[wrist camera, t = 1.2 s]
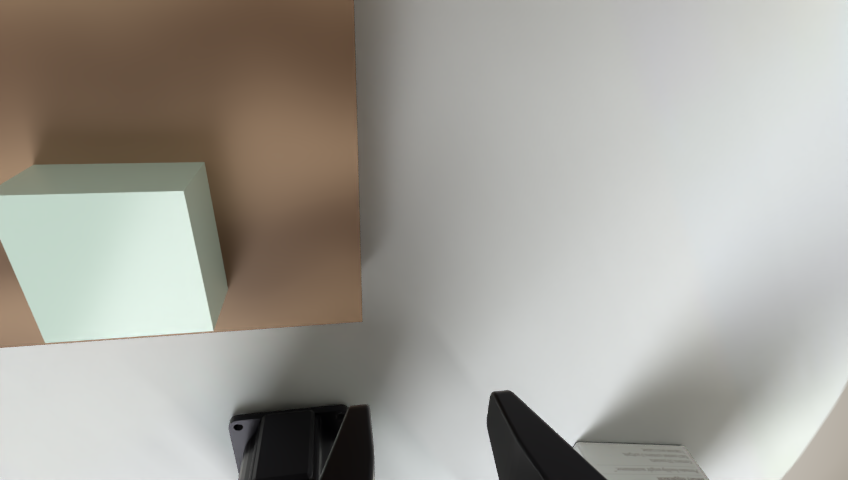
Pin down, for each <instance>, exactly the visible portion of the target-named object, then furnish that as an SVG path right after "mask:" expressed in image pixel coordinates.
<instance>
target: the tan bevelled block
mask: <svg viewBox="0 0 848 480" xmlns="http://www.w3.org/2000/svg"><path fill="white" fill-rule="evenodd" d="M177 162H205V167H206V173H207V178H208V184H209V189H210V194H211V200H212V205H213V210H214V216H215V221H216V226H217V232H218V237H219V243H220V248H221V253H222V259H223V264H224V269H225V275H226V280H227V285H228V291H227V294H226V297H225V300H224V302H223V305H222V308H221V311H220V314H219V317H218V320H217V323H216V326H215V329H214V331H208V332H194V333H180V334H166V335H152V336H138V337H124V338H110V339H96V340H82V341H68V342H54V343H45V341H44V339H43V337H42V335H41V332H40V330H39V328H38V325H37V323H36V321H35V318H34V316H33V314H32V311H31V309H30V307H29V305H28V302H27V300H26V298H25V295H24V293H23V291H22V288H21V286H20V284H19V281H18V279H17V277H16V275H15V272H14V270H13V268H12V265H11V263H10V261H9V258H8V256H7V254H6V252H5V249H4V247H3V245H2V242H1V240H0V348H4V347H18V346H32V345H46V344H59V343H73V342H87V341H101V340H115V339H129V338H143V337H156V336H170V335H184V334H198V333H212V332H226V331H240V330H253V329H267V328H281V327H295V326H309V325H323V324H337V323H350V322H362V287H361V250H360V212H359V175H358V137H357V99H356V62H355V24H354V0H0V185H1V184H2V183H4V182H6V181H7V180H9V179H11V178H12V177H14V176H16V175H17V174H19V173H21V172H22V171H24V170H26V169H27V168H29V167H30V166H32V165H47V164H112V163H177Z"/></svg>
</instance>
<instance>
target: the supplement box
mask: <svg viewBox="0 0 848 480" xmlns="http://www.w3.org/2000/svg"><path fill="white" fill-rule="evenodd" d="M573 448H574V449H575V450H576V451H577V452H578V453H579V454H580V455H581V456H582V457H583V458H585V459H586V460H587V461H588V462H589V463H590V464H591V465H592V466H593V467H594V468H595V469H596V470H598V471H599V472H600V473H601V474H602V475H603V476H604V477H605V478H606V479H607V480H709V479H708V477H707V476H706V475H705V473H704V472H703V471H702V469H701V468H700V467H699V465H698V464H697V463H696V461H695V460H694V459H693V457H692V456H691V455H690V453H689V452H688V451H687V449H686V448H685V447H684V446H673V445H646V444H618V443H590V442H578V443H576V444H575V446H574V447H573Z"/></svg>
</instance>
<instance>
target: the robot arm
mask: <svg viewBox="0 0 848 480" xmlns="http://www.w3.org/2000/svg"><path fill="white" fill-rule="evenodd" d="M340 413H341V414H340ZM238 424H241V425H238ZM487 429H488V434H489V438H490V442H491V447H492V451H493V455H494V459H495V464H496V468H497V472H498V477H499V480H607V479H606V478H605V477H604V476H603V475H602V474H601V473H600V472H599V471H598V470H596V469H595V468H594V467H593V466H592V465H591V464H590V463H589V462H588V461H587V460H586V459H585V458H583V457H582V456H581V455H580V454H579V453H578V452H577V451H576V450H575V449H574V448H573V447H571V446H570V445H569V444H568V443H567V442H566V441H565V440H564V439H563V438H562V437H561V436H560V435H558V434H557V433H556V432H555V431H554V430H553V429H552V428H551V427H550V426H549V425H548V424H547V423H545V422H544V421H543V420H542V419H541V418H540V417H539V416H538V415H537V414H536V413H535V412H534V411H532V410H531V409H530V408H529V407H528V406H527V405H526V404H525V403H524V402H523V401H522V400H521V399H519V398H518V397H517V396H516V395H515V394H514V393H513V392H511V391H509V390H505V391H495V392H492V393H491V396H490V401H489V407H488V414H487ZM229 432H230V436H231V441H232V445H233V450H234V454H235V459H236V463H237V468H238V472H239V479H238V480H375V462H374V444H373V434H372V425H371V415H370V407H369V405H366V404H365V405H355V406H350V407H349V408H348V407H347V406H345V405H334V406H324V407H314V408H304V409H294V410H284V411H274V412H265V413H255V414H245V415H237V416H234V417H232V418H231V420H230V423H229Z"/></svg>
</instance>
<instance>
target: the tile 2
mask: <svg viewBox="0 0 848 480" xmlns="http://www.w3.org/2000/svg"><path fill="white" fill-rule="evenodd" d="M0 240H1V242H2V245H3V247H4V249H5V252H6V254H7V256H8V258H9V261H10V263H11V265H12V268H13V270H14V272H15V275H16V277H17V279H18V281H19V284H20V286H21V288H22V291H23V293H24V295H25V298H26V300H27V302H28V305H29V307H30V309H31V311H32V314H33V316H34V318H35V321H36V323H37V325H38V328H39V330H40V332H41V335H42V337H43V339H44V341H45V343H54V342H68V341H82V340H96V339H110V338H124V337H138V336H152V335H166V334H180V333H194V332H208V331H214V329H215V326H216V323H217V320H218V317H219V314H220V311H221V308H222V305H223V302H224V300H225V297H226V294H227V291H228V285H227V280H226V275H225V269H224V264H223V259H222V253H221V248H220V243H219V237H218V232H217V226H216V221H215V216H214V210H213V205H212V200H211V194H210V189H209V184H208V178H207V173H206V167H205V162H177V163H112V164H47V165H32V166H30V167H29V168H27V169H26V170H24V171H22V172H21V173H19V174H17V175H16V176H14V177H12V178H11V179H9V180H7V181H6V182H4V183H2V184H1V185H0Z"/></svg>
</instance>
